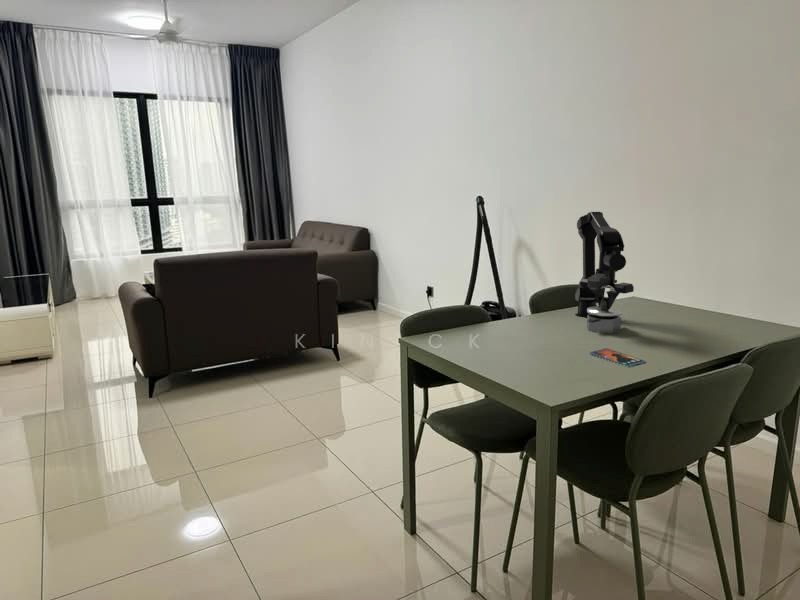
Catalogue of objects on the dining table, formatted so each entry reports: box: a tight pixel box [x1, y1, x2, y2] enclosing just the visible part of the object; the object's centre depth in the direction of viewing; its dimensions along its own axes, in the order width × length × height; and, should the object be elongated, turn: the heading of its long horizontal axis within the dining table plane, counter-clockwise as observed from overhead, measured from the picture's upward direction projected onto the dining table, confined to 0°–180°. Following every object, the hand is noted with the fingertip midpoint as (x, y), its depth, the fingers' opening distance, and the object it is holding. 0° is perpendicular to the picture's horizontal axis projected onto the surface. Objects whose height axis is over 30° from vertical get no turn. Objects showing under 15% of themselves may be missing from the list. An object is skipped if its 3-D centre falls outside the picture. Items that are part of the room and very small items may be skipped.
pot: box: [586, 314, 622, 334], centre depth 205 cm, size 11×16×5 cm
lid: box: [587, 296, 623, 317], centre depth 204 cm, size 12×12×6 cm
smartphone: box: [589, 347, 647, 368], centre depth 173 cm, size 8×1×15 cm
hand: (604, 308), depth 204 cm, fingers closed on lid, 3 cm apart
